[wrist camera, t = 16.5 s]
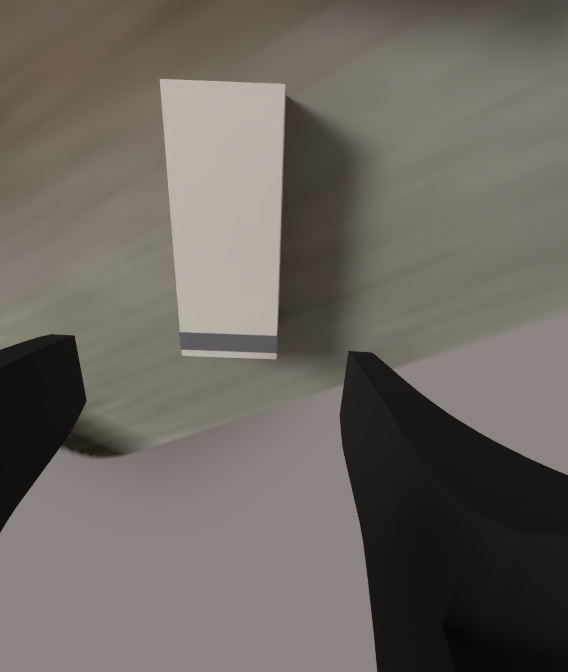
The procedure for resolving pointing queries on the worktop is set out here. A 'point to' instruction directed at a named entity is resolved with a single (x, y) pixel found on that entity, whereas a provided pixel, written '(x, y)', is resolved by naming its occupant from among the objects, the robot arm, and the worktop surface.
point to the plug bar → (226, 213)
